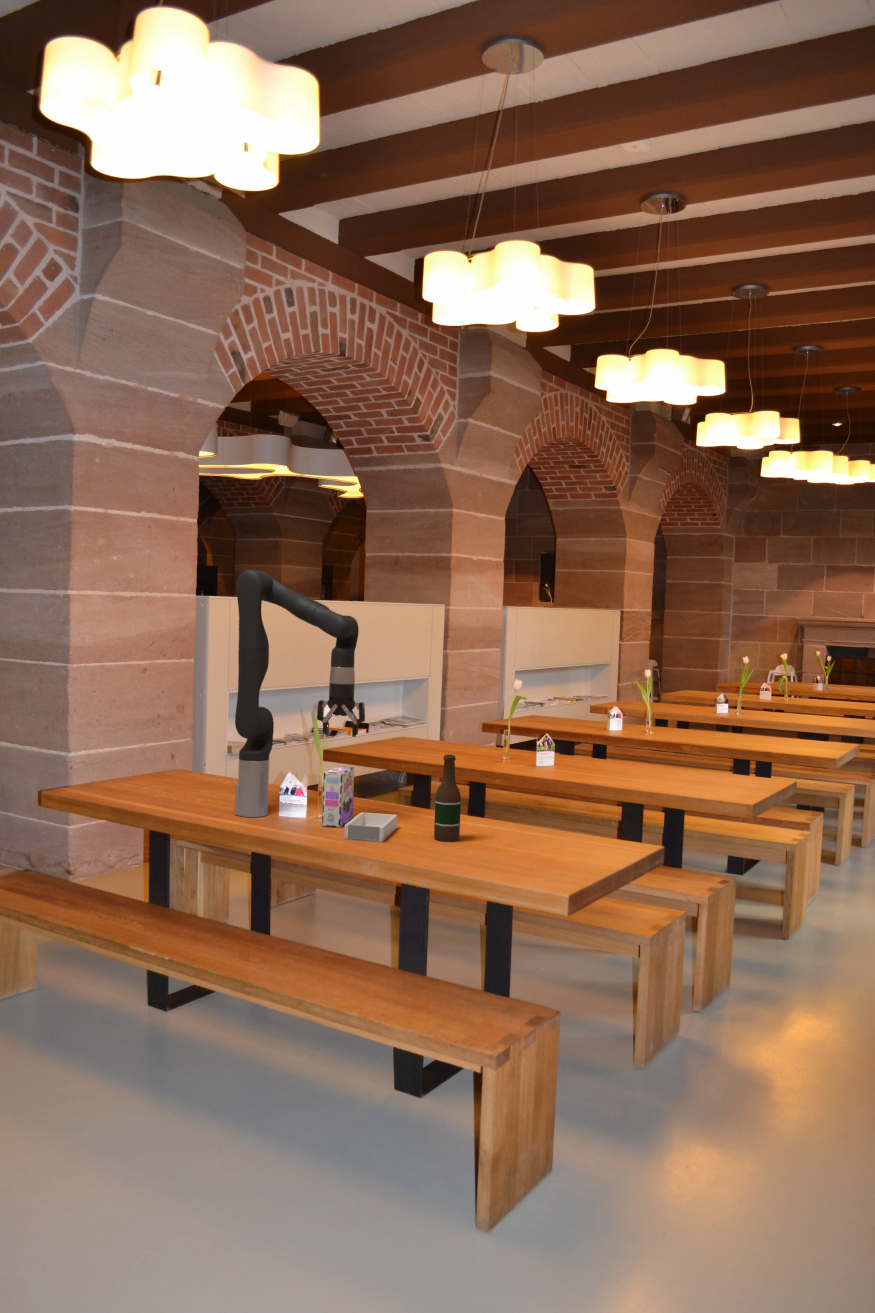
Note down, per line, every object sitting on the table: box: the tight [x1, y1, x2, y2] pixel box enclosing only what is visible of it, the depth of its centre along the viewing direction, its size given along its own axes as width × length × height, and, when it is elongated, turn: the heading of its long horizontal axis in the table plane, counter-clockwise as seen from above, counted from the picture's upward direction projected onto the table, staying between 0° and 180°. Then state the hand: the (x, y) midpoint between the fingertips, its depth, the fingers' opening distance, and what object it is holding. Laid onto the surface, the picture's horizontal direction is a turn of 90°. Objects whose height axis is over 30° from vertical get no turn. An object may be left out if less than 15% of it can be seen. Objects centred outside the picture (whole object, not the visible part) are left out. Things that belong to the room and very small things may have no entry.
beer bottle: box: [433, 754, 462, 843], centre depth 282 cm, size 8×8×24 cm
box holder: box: [343, 812, 398, 843], centre depth 286 cm, size 11×19×4 cm, turn 171°
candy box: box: [321, 765, 355, 829], centre depth 298 cm, size 14×6×16 cm, turn 168°
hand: (340, 735), depth 298 cm, fingers open, 8 cm apart
